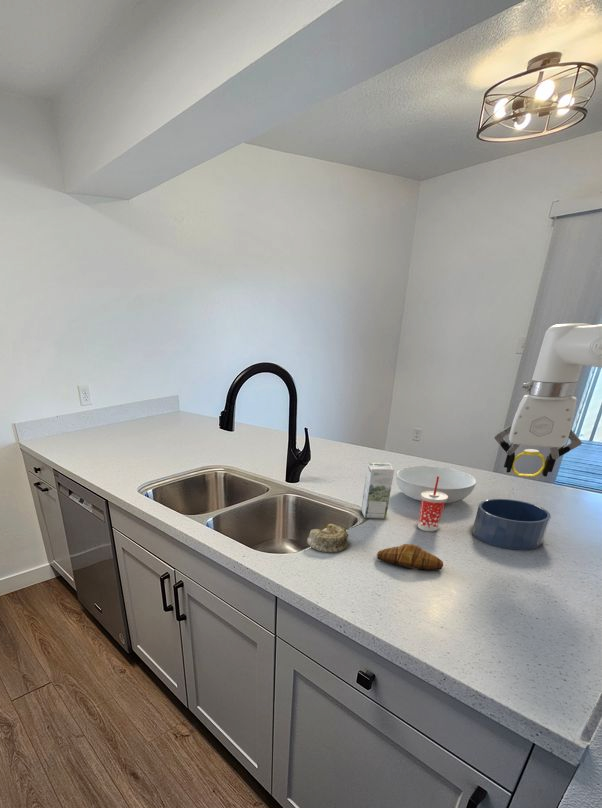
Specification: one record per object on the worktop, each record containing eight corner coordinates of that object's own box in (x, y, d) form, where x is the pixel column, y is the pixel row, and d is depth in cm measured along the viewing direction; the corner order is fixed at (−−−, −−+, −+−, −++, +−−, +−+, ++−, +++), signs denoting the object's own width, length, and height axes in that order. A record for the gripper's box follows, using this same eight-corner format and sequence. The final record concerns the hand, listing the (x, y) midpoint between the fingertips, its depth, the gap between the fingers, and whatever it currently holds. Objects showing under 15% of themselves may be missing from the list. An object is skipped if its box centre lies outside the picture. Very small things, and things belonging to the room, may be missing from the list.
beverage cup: (445, 531, 110) (457, 479, 104) (422, 533, 110) (433, 481, 104) (432, 521, 116) (443, 471, 110) (410, 523, 116) (419, 473, 109)
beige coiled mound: (356, 545, 107) (360, 526, 105) (329, 559, 103) (333, 539, 100) (324, 529, 114) (327, 511, 112) (298, 541, 109) (300, 523, 107)
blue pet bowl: (539, 530, 108) (548, 504, 105) (542, 555, 98) (552, 527, 95) (474, 519, 116) (480, 495, 112) (470, 541, 105) (477, 515, 102)
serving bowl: (470, 516, 117) (476, 492, 114) (388, 505, 127) (391, 482, 124) (471, 490, 133) (477, 469, 130) (398, 482, 143) (401, 462, 140)
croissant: (442, 562, 97) (446, 543, 95) (442, 577, 92) (447, 557, 90) (377, 552, 103) (380, 533, 101) (374, 566, 97) (377, 546, 95)
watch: (541, 476, 98) (549, 450, 95) (541, 479, 96) (549, 453, 93) (509, 472, 101) (516, 447, 98) (508, 476, 99) (516, 450, 96)
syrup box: (382, 511, 124) (389, 461, 117) (386, 519, 118) (394, 468, 112) (361, 510, 125) (367, 461, 118) (364, 519, 119) (371, 468, 113)
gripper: (501, 391, 92) (480, 472, 100) (609, 394, 83) (576, 483, 91) (502, 386, 97) (482, 463, 105) (602, 388, 89) (572, 472, 97)
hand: (526, 472), depth 98 cm, fingers closed on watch, 6 cm apart
